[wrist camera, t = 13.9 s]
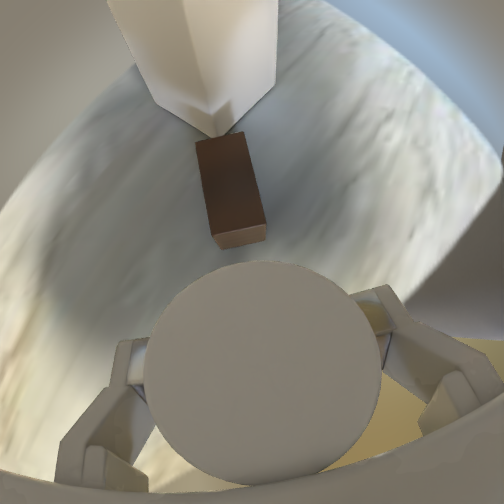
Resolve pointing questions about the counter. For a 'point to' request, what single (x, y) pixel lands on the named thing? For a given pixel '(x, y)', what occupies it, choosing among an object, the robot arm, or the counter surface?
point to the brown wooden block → (230, 191)
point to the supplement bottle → (262, 372)
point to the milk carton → (202, 55)
